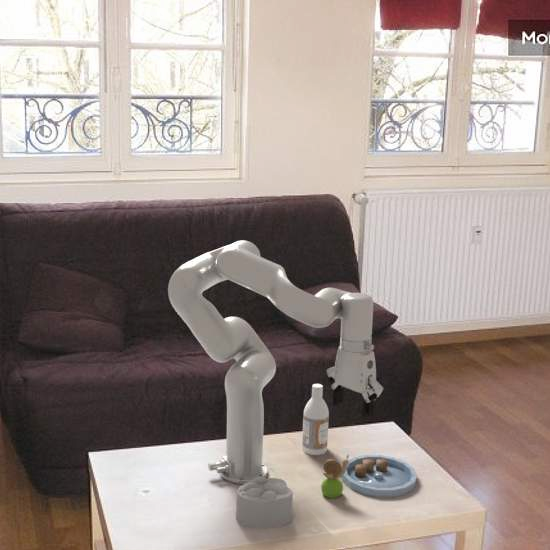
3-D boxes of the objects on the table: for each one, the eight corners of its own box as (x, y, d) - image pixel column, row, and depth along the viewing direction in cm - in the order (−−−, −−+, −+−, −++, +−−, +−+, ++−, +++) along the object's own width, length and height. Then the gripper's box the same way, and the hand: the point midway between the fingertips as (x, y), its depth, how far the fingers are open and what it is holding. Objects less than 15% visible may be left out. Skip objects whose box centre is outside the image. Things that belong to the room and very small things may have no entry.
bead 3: (379, 473, 233) (380, 464, 232) (373, 468, 235) (374, 459, 235) (389, 471, 234) (389, 462, 233) (383, 466, 237) (383, 457, 236)
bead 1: (358, 478, 230) (358, 470, 229) (352, 473, 232) (353, 465, 232) (368, 476, 231) (368, 468, 230) (362, 471, 233) (363, 463, 233)
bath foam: (314, 460, 241) (318, 392, 236) (296, 451, 246) (299, 384, 240) (331, 453, 246) (335, 386, 240) (313, 444, 250) (317, 378, 245)
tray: (365, 506, 218) (366, 495, 217) (328, 471, 235) (329, 462, 234) (430, 491, 226) (431, 482, 225) (390, 459, 243) (390, 450, 242)
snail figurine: (344, 504, 219) (347, 460, 215) (319, 501, 220) (321, 457, 217) (347, 494, 224) (350, 450, 221) (322, 490, 225) (324, 447, 222)
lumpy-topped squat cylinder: (295, 523, 209) (296, 490, 207) (243, 532, 205) (244, 498, 203) (280, 502, 219) (281, 470, 217) (230, 509, 215) (230, 477, 212)
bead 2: (365, 473, 232) (366, 465, 232) (360, 468, 235) (360, 460, 234) (375, 471, 234) (376, 463, 233) (369, 466, 236) (370, 458, 236)
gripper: (393, 349, 210) (389, 416, 214) (339, 332, 222) (336, 395, 226) (373, 356, 205) (369, 425, 209) (318, 338, 217) (316, 403, 221)
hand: (352, 409), depth 218 cm, fingers open, 9 cm apart
